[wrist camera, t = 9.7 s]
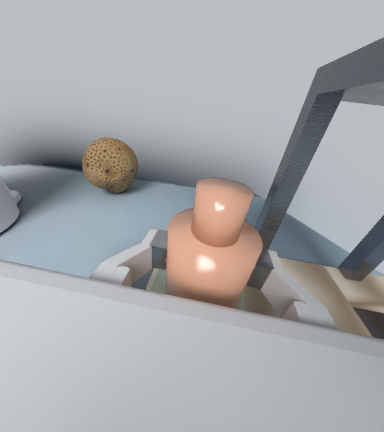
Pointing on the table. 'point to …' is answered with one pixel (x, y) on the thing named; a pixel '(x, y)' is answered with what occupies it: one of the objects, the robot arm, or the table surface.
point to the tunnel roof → (311, 137)
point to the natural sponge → (109, 164)
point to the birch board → (318, 296)
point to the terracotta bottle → (213, 244)
